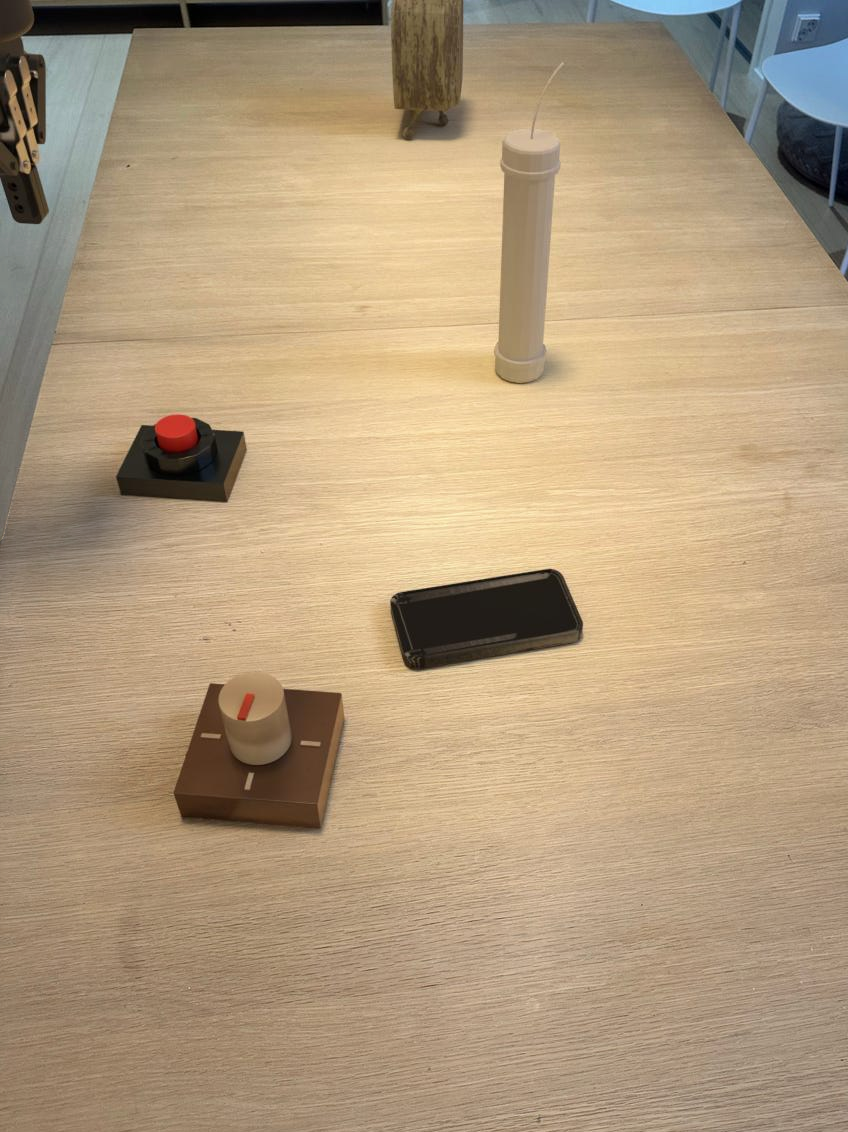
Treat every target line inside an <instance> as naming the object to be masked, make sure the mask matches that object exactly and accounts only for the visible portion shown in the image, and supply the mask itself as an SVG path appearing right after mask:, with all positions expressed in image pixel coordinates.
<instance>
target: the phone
mask: <svg viewBox="0 0 848 1132" xmlns="http://www.w3.org/2000/svg"><path fill="white" fill-rule="evenodd" d="M389 605H390V606H389V607H390V614H391V620H392V623H393V626H394V631H395V634H396V639H397V642H398V645H399V649H400V652H401V656H402V660H403V663H404V664H405V666H407V667H408V668H411V669H416V670H418V669H419V670H420V669H425V668H431V667H437V666H444V665H450V664H454V663H461V662H462V663H463V662H466V661H473V660H477V659H478V660H479V659H484V658H490V657H495V656H496V657H497V656H501V655H502V656H503V655H508V654H513V653H519V652H526V651H530V650H538V649H543V648H549V647H554V646H561V645H567V644H572V643H575V642H577V641H579V640H580V639H581V638H582V635H583V629H584V621H583V619H582V617H581V614H580V612H579V609H578V607H577V605H576V603H575V600H574V598H573V595H572V593H571V591H570V588H569V585H568V584H567V581H566V579H565V577H564V575H563V574H562V573H561V572H560V571H559V570H557V569H554V568H544V569H537V570H533V571H525V572H520V573H513V574H505V575H501V576H499V575H498V576H494V577H488V578H487V577H486V578H482V579H475V580H467V581H462V582H455V583H450V584H449V583H448V584H442V585H436V586H430V587H423V588H417V589H412V590H404V591H401V592H399V591H398V592H396V593H395V594H393V595H392V596H391V597H390V600H389Z"/></svg>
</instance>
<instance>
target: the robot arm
mask: <svg viewBox="0 0 848 1132" xmlns="http://www.w3.org/2000/svg"><path fill="white" fill-rule="evenodd" d="M34 22H35V14H34V10H33V7H32V3H31V0H0V183H1V185H2V189H3V192H4V196H5V198H6V201H7V204H8V207H9V211H10V214H11V217H12V219H13V220H14V221H15V222H16V223H17V224H25V225H41V224H42V223H43V221H44V220H45V219H46V217H47V216H48V215H49V212H50V208H49V205H48V202H47V198H46V195H45V192H44V191H45V190H44V188H43V183H42V181H41V178H40V174H39V171H38V167H37V165H38V164H39V162H40V151H39V150H40V149H39V147H38V145H45V144H46V141H47V120H46V119H47V106H46V105H47V90H46V89H47V86H46V85H47V80H46V79H47V71H46V70H47V69H46V68H47V65H46V60H45V58H44V55H42V54H41V53H31V52H30V53H29V52H27V51H26V50H25V47H24V46H25V45H24V42H23V39H22V36H24V35H25V34H26V33H27V32H29V31H30V30H31V29H32V27H33V25H34Z"/></svg>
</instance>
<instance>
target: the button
mask: <svg viewBox="0 0 848 1132" xmlns="http://www.w3.org/2000/svg"><path fill="white" fill-rule="evenodd" d="M192 418H193V417H191V416H189V415H186V414H180V413H179V414H178V413H177V414H170V415H166V416H164V417H162V418H160V419H158V421H157V422H156V423H155V424H156V425H155V424H154V425H155V432H156V436H157V440H158V444H159V446H160V448H161V449H162V450H164V451H170V452H180V451H184V450H188V449H190V448H192V447H193V446H195V445H196V444H197V442H198V435H197V431H196V426H195V422H194V420H193V419H192Z"/></svg>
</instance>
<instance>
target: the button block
mask: <svg viewBox="0 0 848 1132" xmlns="http://www.w3.org/2000/svg"><path fill="white" fill-rule="evenodd" d="M191 418H192V419H193V420H194V422H195V426H196V431H197V435H198V442H197V444H196V445H195V446H193V447H192V448H190V449H188V450H184V451H180V452H170V451H164V450H162V449H161V448H160V446H159V444H158V440H157V436H156V432H155V425H156V423H155V424H153V425H149V424H141V425H140V428H139V429H138V432H137V433H136V435H135V437H134V439H133V442H132V443H131V445H130V447H129V449H128V451H127V453H126V455H125V457H124V459H123V461H122V463H121V465H120V467H119V469H118V471H117V474H116V476H115V478H116V482H117V486H118V489H119V492H120V495H121V496H130V497H131V496H132V497H144V498H145V497H146V498H158V499H159V498H161V499H176V500H189V501H205V502H219V503H228V501H229V498H230V496H231V493H232V491H233V488H234V485H235V482H236V480H237V477H238V475H239V472H240V469H241V467H242V463H243V461H244V459H245V456H246V453H247V450H248V448H247V443H246V437H245V432H244V431H241V430H226V429H212V426H211V424H209V423H207V422H205V421H203V420H201V419H199V418H198V417H191Z"/></svg>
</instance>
